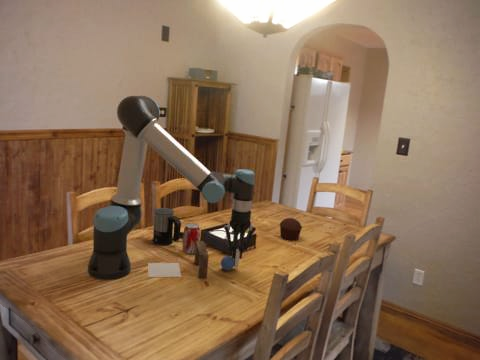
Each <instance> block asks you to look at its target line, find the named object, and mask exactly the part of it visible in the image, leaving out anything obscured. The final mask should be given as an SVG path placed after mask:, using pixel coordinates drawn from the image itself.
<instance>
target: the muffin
mask: <svg viewBox="0 0 480 360" xmlns="http://www.w3.org/2000/svg"><path fill="white" fill-rule="evenodd" d="M302 228H303V226H302V225H301V222H300V221H299V220H297V219H296V218H293V217H287V218H284V219H283V220H281V221H280V222H279V230H280V231H279V232H280V234H279V235H280V239H282V240H283V241H287V240H288V242H297V241H298V240H299V238H300V234H301V231H302Z"/></svg>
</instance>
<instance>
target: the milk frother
mask: <svg viewBox="0 0 480 360" xmlns="http://www.w3.org/2000/svg"><path fill="white" fill-rule="evenodd" d="M174 214H175V209H172V208H168V207H159V208H155V209H154V210H153V233H152V234H153V236H152V241H151V242H152V243H153V244H155V245H157V246H168V245H172V243H174V242H175V243H176V242H178V241H180V239H183V234H184V231H181V229H182V227H181V226H182V221H181V219H180V218H179V217H178V216H177V215H176V216H175V215H174Z"/></svg>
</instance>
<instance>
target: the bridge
mask: <svg viewBox="0 0 480 360" xmlns="http://www.w3.org/2000/svg"><path fill="white" fill-rule="evenodd" d="M204 241H205V240H200V241H196V248H195V254H194V265H198V271H197V273H198V274H197V277H198V279H207V278H208V267H209V258H210V257H209V252H208V250H207V247H206V244H205V242H204Z"/></svg>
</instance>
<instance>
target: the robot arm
mask: <svg viewBox="0 0 480 360" xmlns="http://www.w3.org/2000/svg"><path fill="white" fill-rule="evenodd" d="M160 114H161V110H160V107H159V105H158V103H157V102H156V101H155V100H154V99H152V98H151V97H148V96H146V95H130V96H129V95H128V96H127V97H124V98H123V99H122V100H121V101H120V102H119V104H118V105H117V109H116V115H117V118H118V122H120V124H121V125H122V131H123V133H124V134H125V136H124V141H123V142H124V143H123V148H122V155H121V161H120V167H119V173H118V179H117V185H116V191H115V194H114V195H112V196H111V197H110V202H109V203H110V204H109V205H107V206H103V207H100V208H99V209H97V210H96V211H95V213H94V215H93V221H92V222H93V223H92V224H93V241H92V242H93V243H92V244H93V246H92V247H93V250H92V254H91V256H90V259H89V262H88V264H87V274H88V275H89V276H90V277H91V278H94V279H98V280H105V281H106V280H117V279H120V278H123V277H125V276H127V275H128V274H129V273H131V266H132V265H131V261H130V258H129V255H128V252H127V246H128V245H127V244H128V235H129V233H131V232H132V231H133V230H134V229H135V228H136V227H137V226H138V225H140V222H141V220H142V217H143V210H142V200H141V199H140V197H139V196H140V190H141V185H142V178H143V172H144V168H145V161H146V155H147V149H148V145H149V147H150V148H152V150H153V151H154V152H156V153H157V154H158V155H159V156H160V157H161V158H163V159H164V161H166V162H167V163H168V164H169V165H171V167H173V169H175V170H176V171H177V172H178V173H180V175H182V176H183V178H185V179H186V180H187V181H188V182H189V183H191V184H192V186H194V187H195V188H196V189H197V190H198V191H199V192H200V193H201V195H202V198H203V200H205V201H206V202H207V203H209V204H216V203H218V202H220V201H221V200H222V199H223V198H224V197H225V195H226V194H232V195H233V196H232V197H233V198H232V206H231V207H232V209H231V217H230V221H229V223H227V225H225V224H224V225H223V229H224V230H225V234H226V235H225V236H226V242H227V247H228V249H229V251H232V252H231V257H232V258H233V259H234V262H235V264H234V267H233V268H239V264H240V260H241V259H242V258H243V252H244V251H247V250H248V249H249V245H250V243H251V240H252V237H253V234H254V233H255V231H257V229H256V226H254V225H252V223H251V216H252V211H251V210H252V206H253V196H254V190H255V178H256V177H255V176H256V174H255V172H254V171H252V170H250V169H244V168H243V169H242V168H241V169H236V170H235V173H223V172H216V171H210V170H209V169H208V168H207V167H206V166H205V165H204V164H203V163H201V161H199V159H197V158H196V157H195V156H194V155H193V154H192V153H191V152H190V151H188V150H187V149H186V147H184V146H183V145H182V144H181V143H180V142H178V140H176V138H174V137H173V136H172V135H171V134H170V133H169V132H168V131H167V130H166V129H165V128H163V127H162V126H161V125H160V124H159V123H158V121H159V119H160V116H161V115H160ZM231 229H232V230H233V239H232V238H231V232H230V231H231ZM246 231H247V234H246ZM245 235H246V237H245Z"/></svg>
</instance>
